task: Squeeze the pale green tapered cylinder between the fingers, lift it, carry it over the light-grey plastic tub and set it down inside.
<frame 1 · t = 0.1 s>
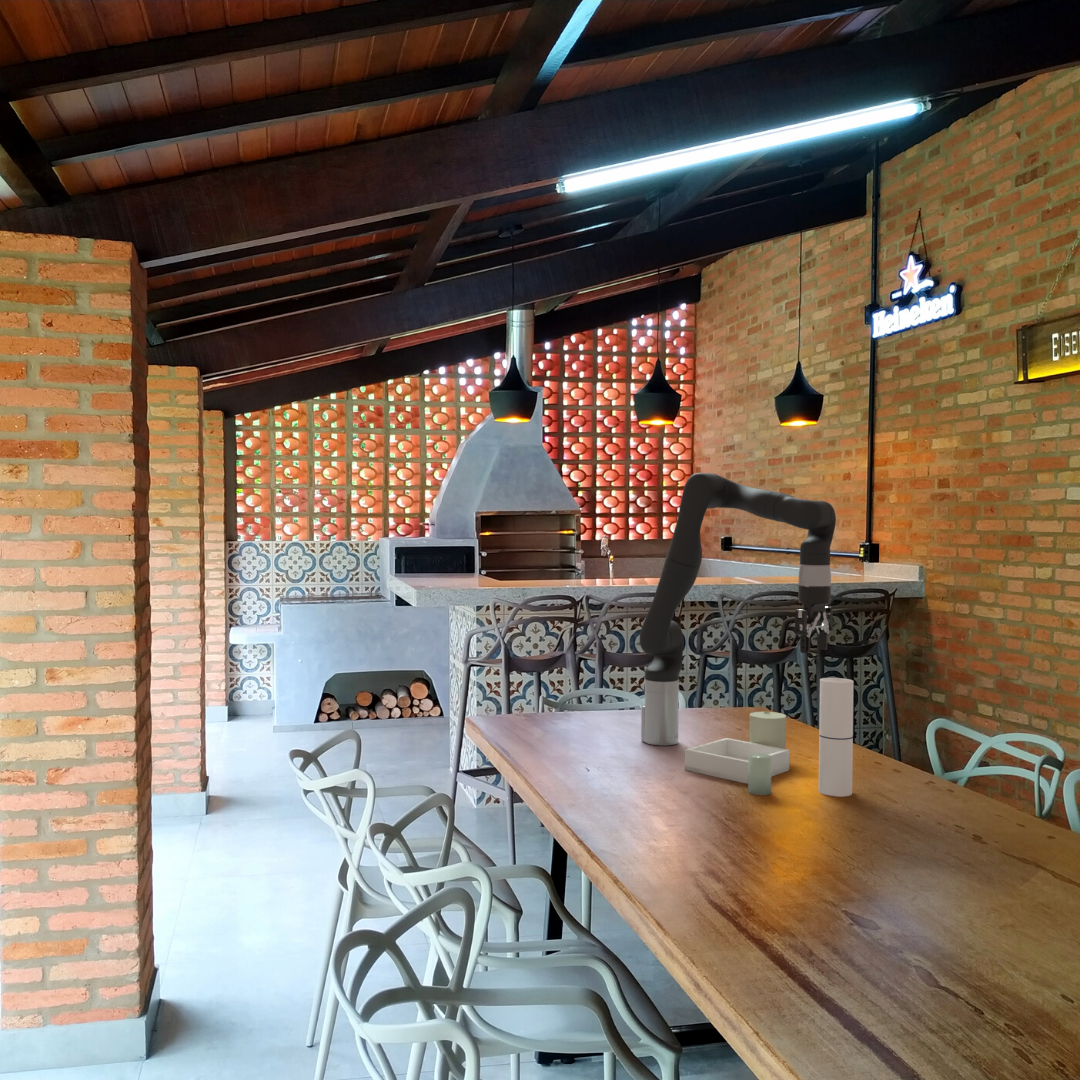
hand: (813, 651, 232), 29 cm above the table, fingers open, 8 cm apart
cylindrical container: (835, 792, 216), on the table
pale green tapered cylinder: (759, 792, 215), on the table
can: (767, 761, 244), on the table
grey tub: (737, 770, 234), on the table
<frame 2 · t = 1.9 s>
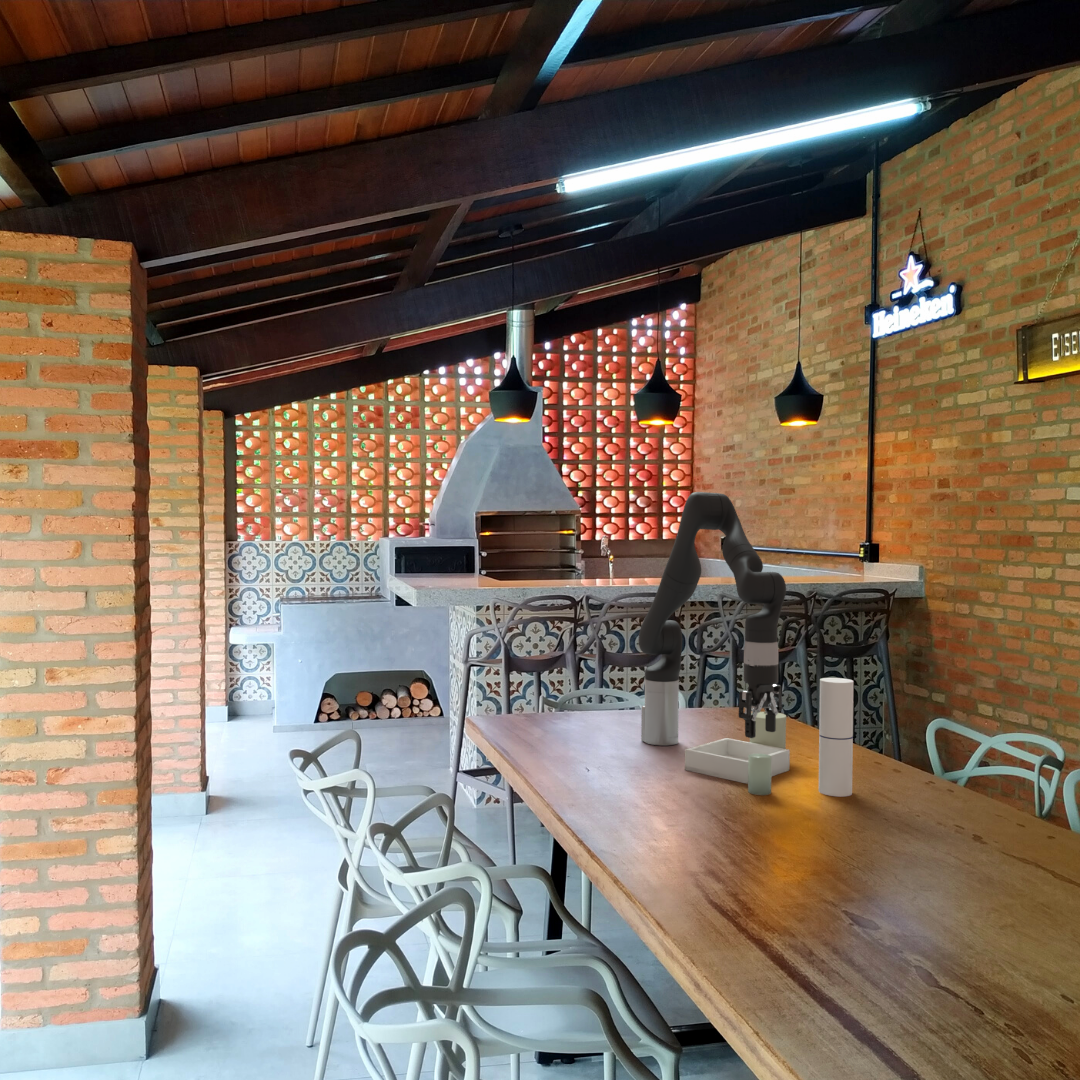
hand: (760, 734, 215), 13 cm above the table, fingers open, 8 cm apart
nothing on the table moved.
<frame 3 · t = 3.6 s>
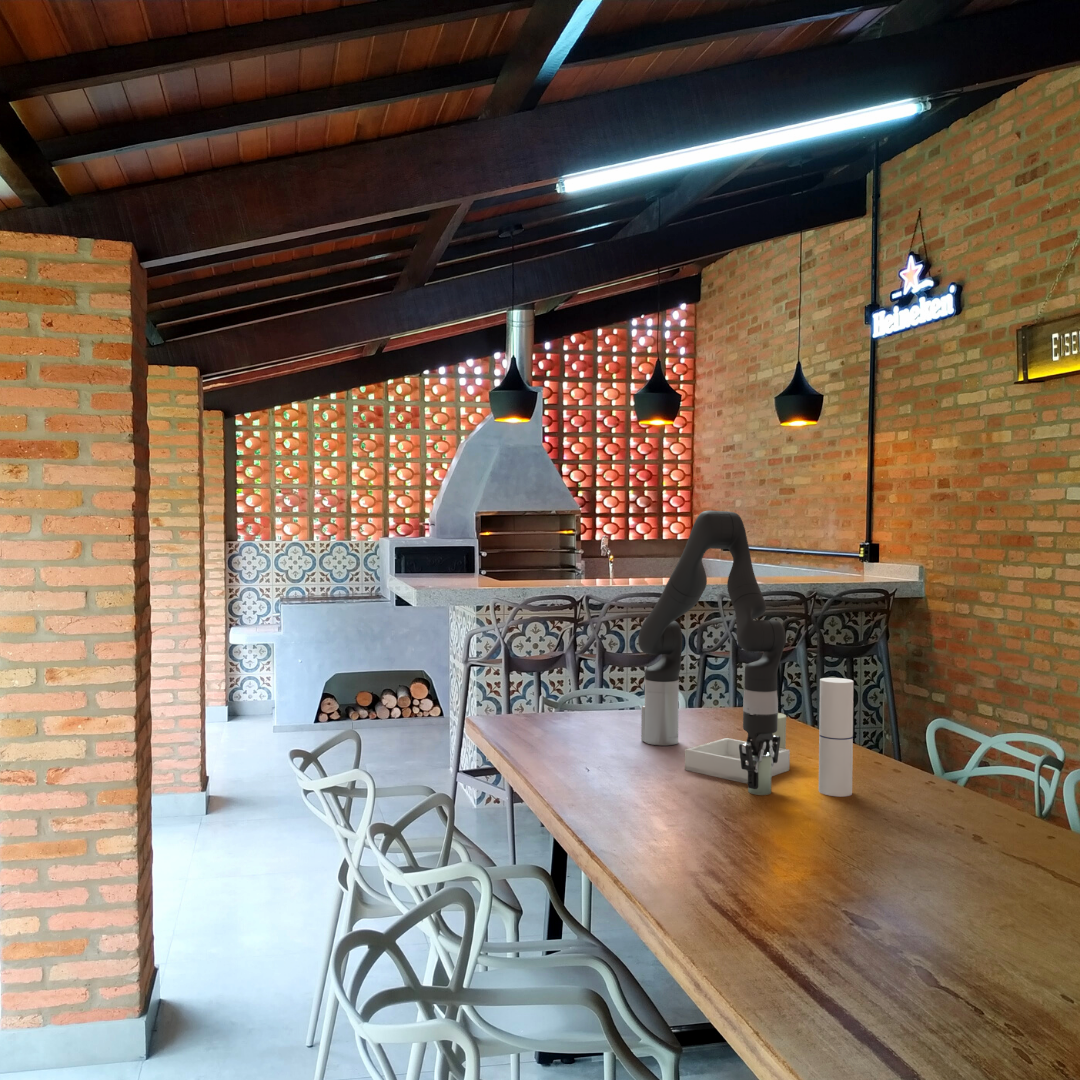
hand: (759, 785, 215), 1 cm above the table, fingers closed on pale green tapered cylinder, 5 cm apart
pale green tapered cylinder: (759, 791, 215), on the table, touching gripper
everything else where it was.
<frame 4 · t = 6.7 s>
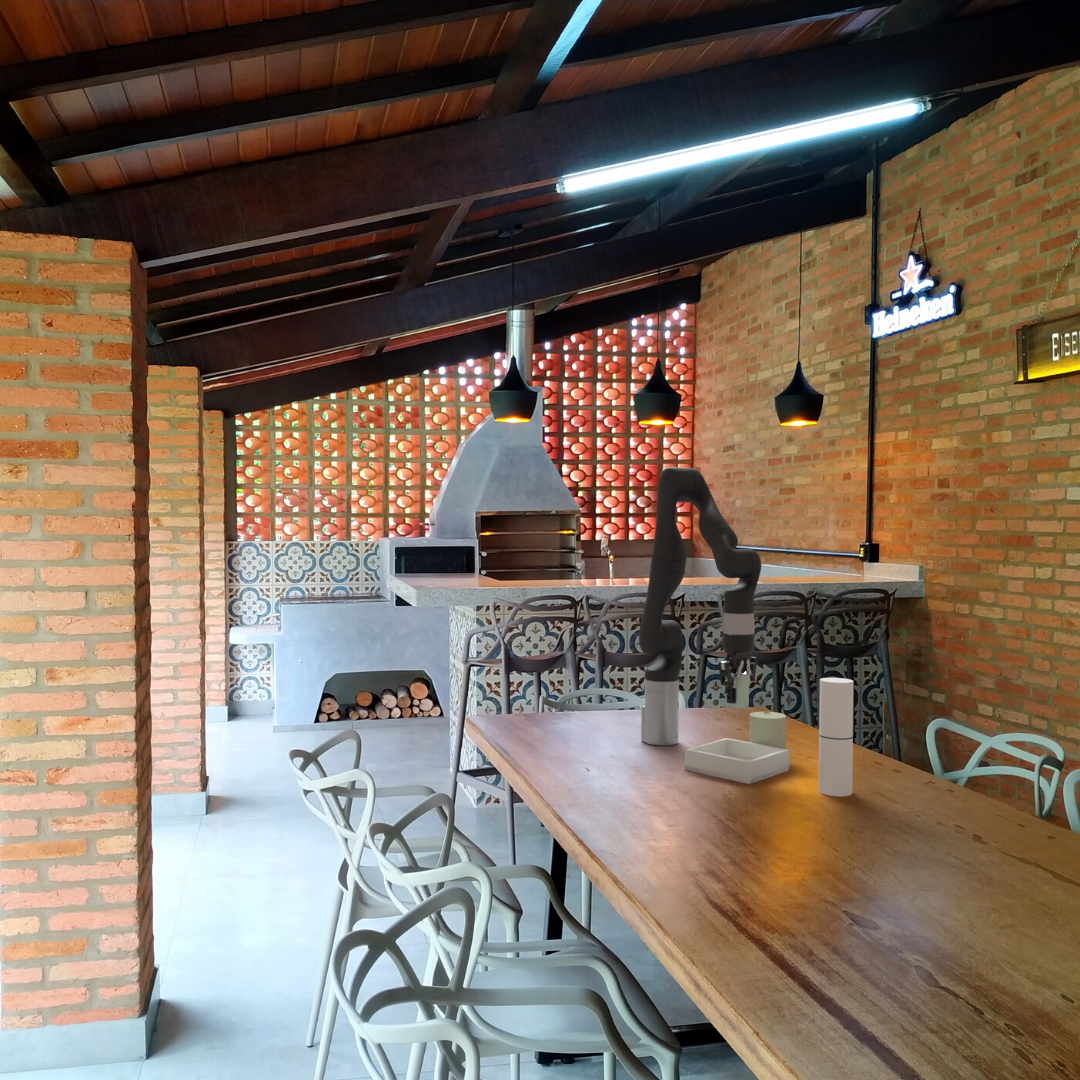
hand: (737, 701, 234), 17 cm above the table, fingers closed on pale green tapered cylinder, 5 cm apart
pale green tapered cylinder: (737, 707, 234), point 15 cm above the table, touching gripper
everything else where it was.
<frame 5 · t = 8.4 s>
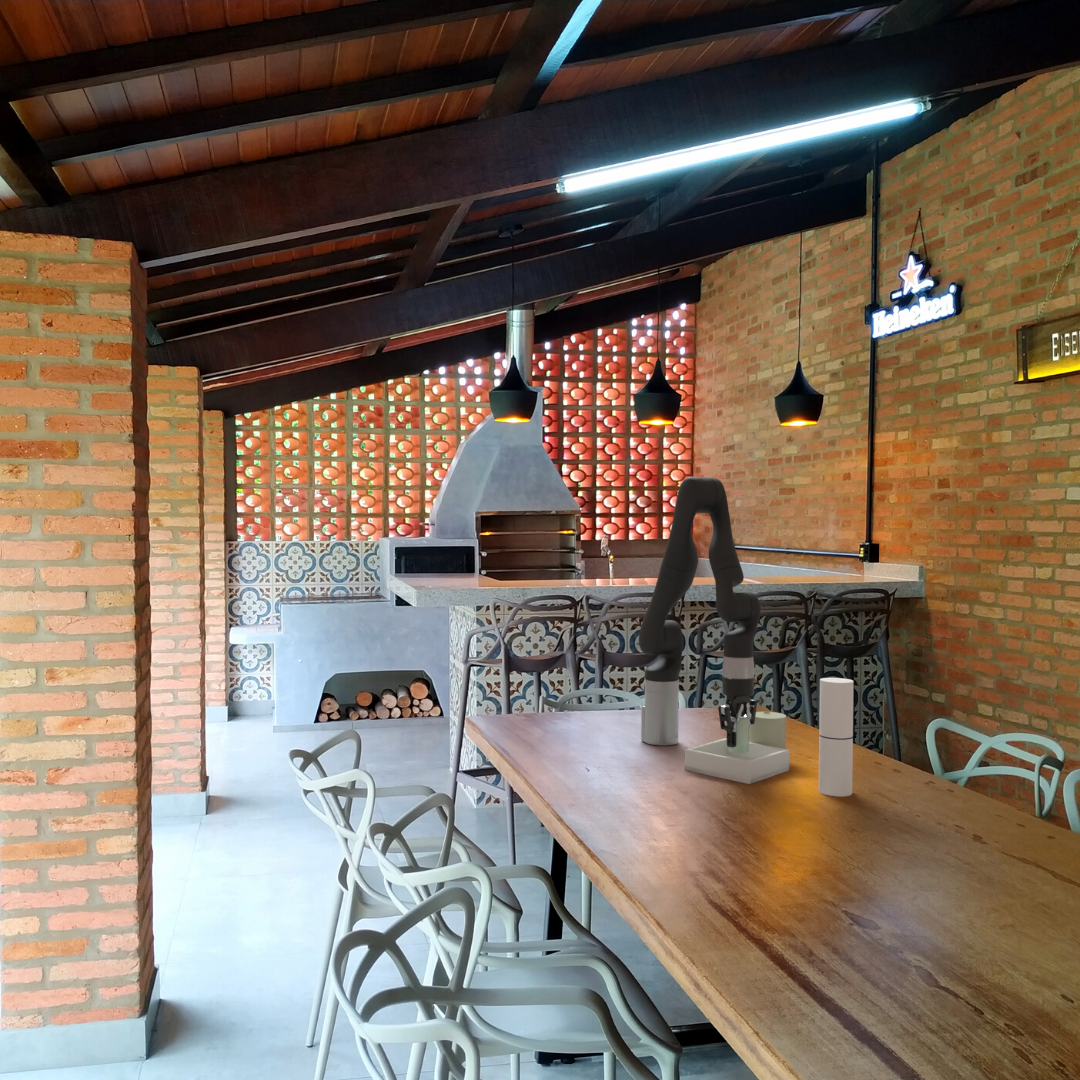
hand: (737, 744, 234), 6 cm above the table, fingers closed on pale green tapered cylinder, 5 cm apart
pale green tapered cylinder: (738, 750, 234), point 5 cm above the table, touching gripper
everything else where it was.
when the fingers open (5 cm above the table, at t = 9.6 s): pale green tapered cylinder drops 2 cm, resting on grey tub.
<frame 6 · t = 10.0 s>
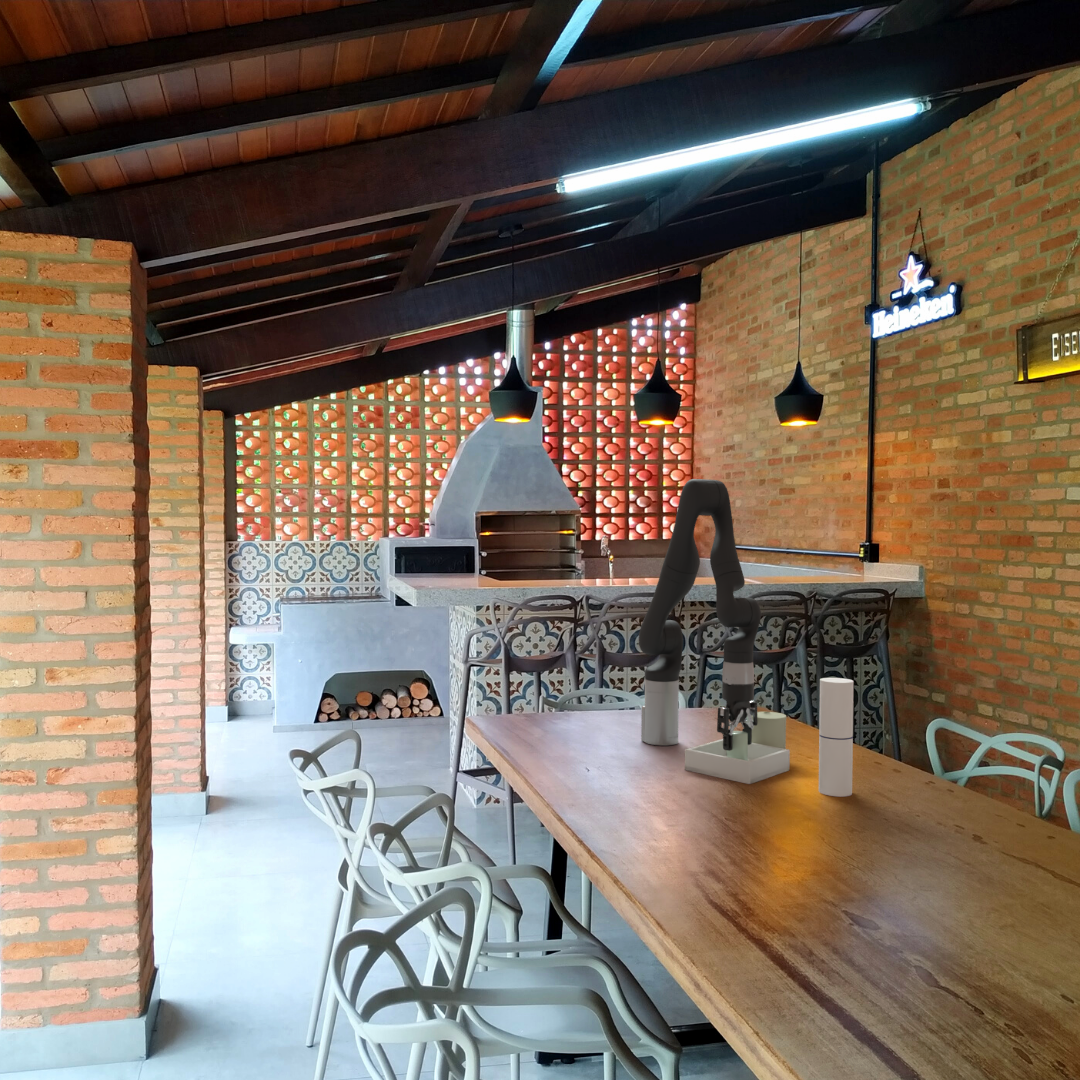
hand: (737, 747, 234), 6 cm above the table, fingers open, 8 cm apart
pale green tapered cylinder: (737, 765, 234), point 1 cm above the table, touching grey tub
everything else where it was.
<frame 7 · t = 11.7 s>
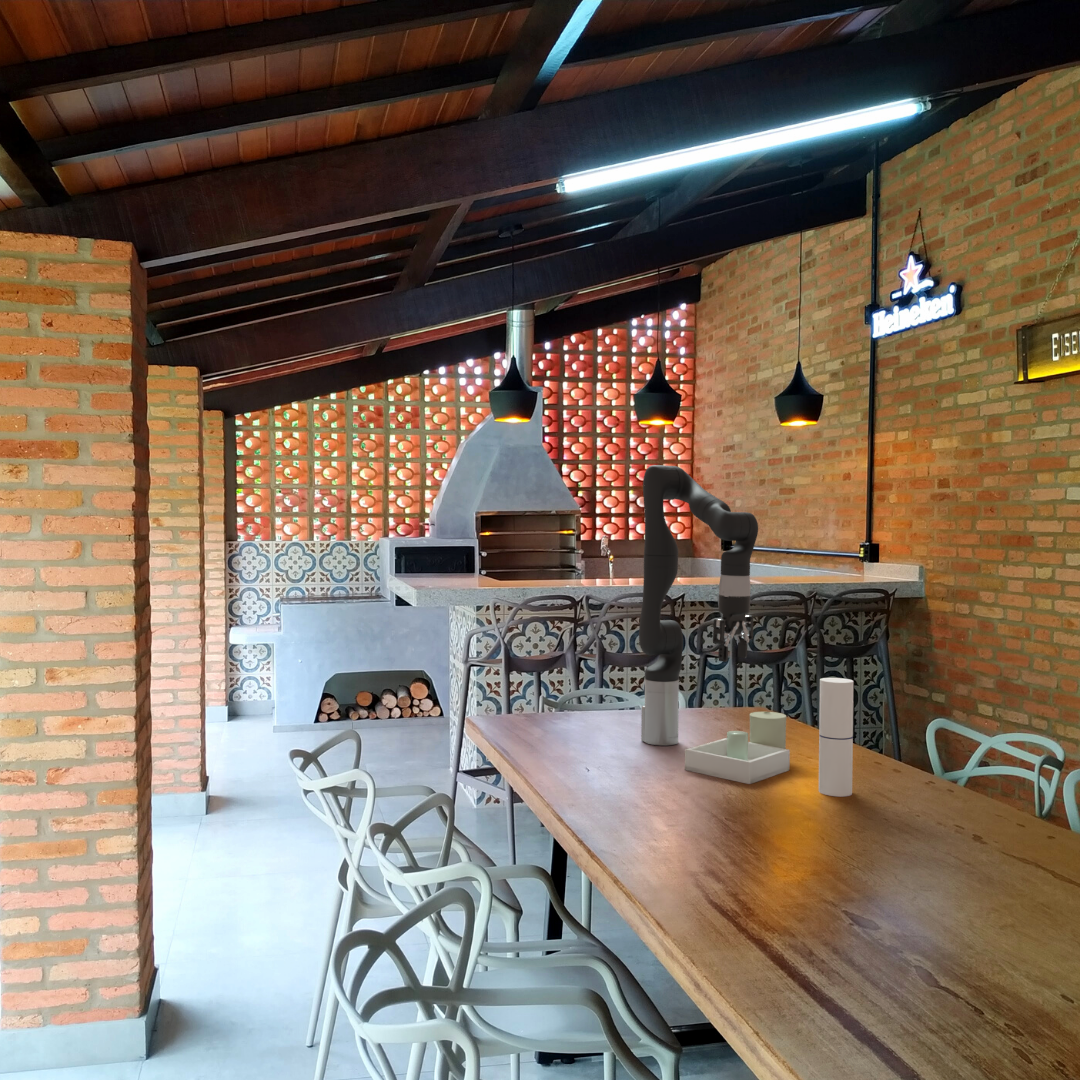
hand: (732, 659, 237), 26 cm above the table, fingers open, 8 cm apart
nothing on the table moved.
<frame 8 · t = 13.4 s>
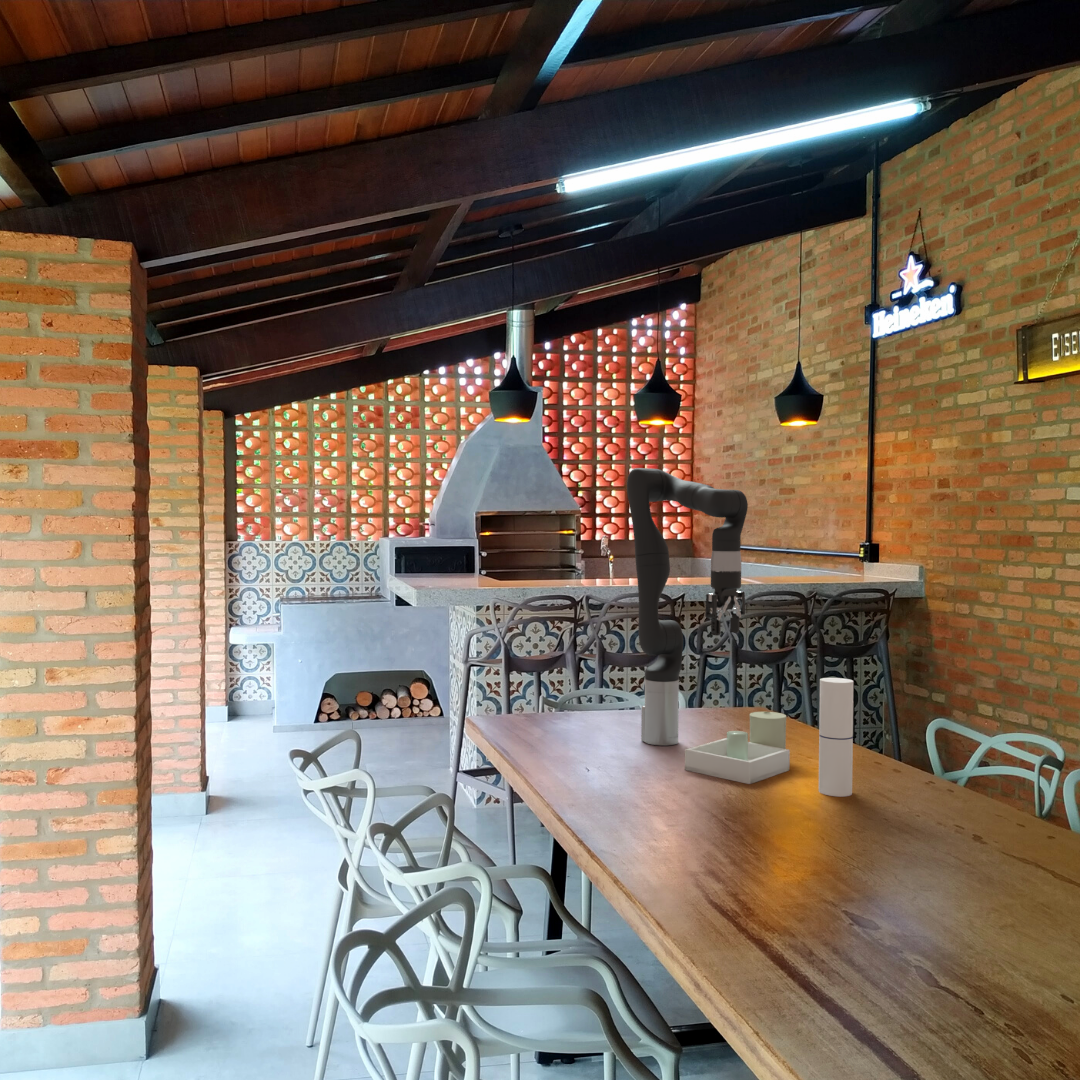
hand: (725, 633, 242), 32 cm above the table, fingers open, 8 cm apart
nothing on the table moved.
at the end: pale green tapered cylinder inside the target area on the grey tub (0.1 cm from its centre), point 1.0 cm above the grey tub's base; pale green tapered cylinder tilted 0°; the gripper is holding nothing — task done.
